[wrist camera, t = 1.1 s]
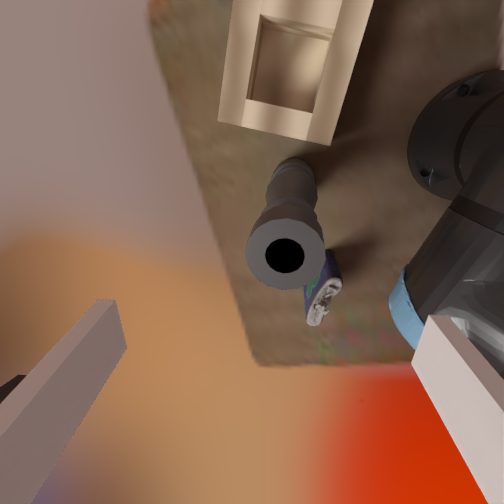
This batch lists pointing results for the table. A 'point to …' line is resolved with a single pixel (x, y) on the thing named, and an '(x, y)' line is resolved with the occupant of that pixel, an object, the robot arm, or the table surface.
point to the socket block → (291, 65)
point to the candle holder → (288, 230)
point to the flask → (322, 290)
